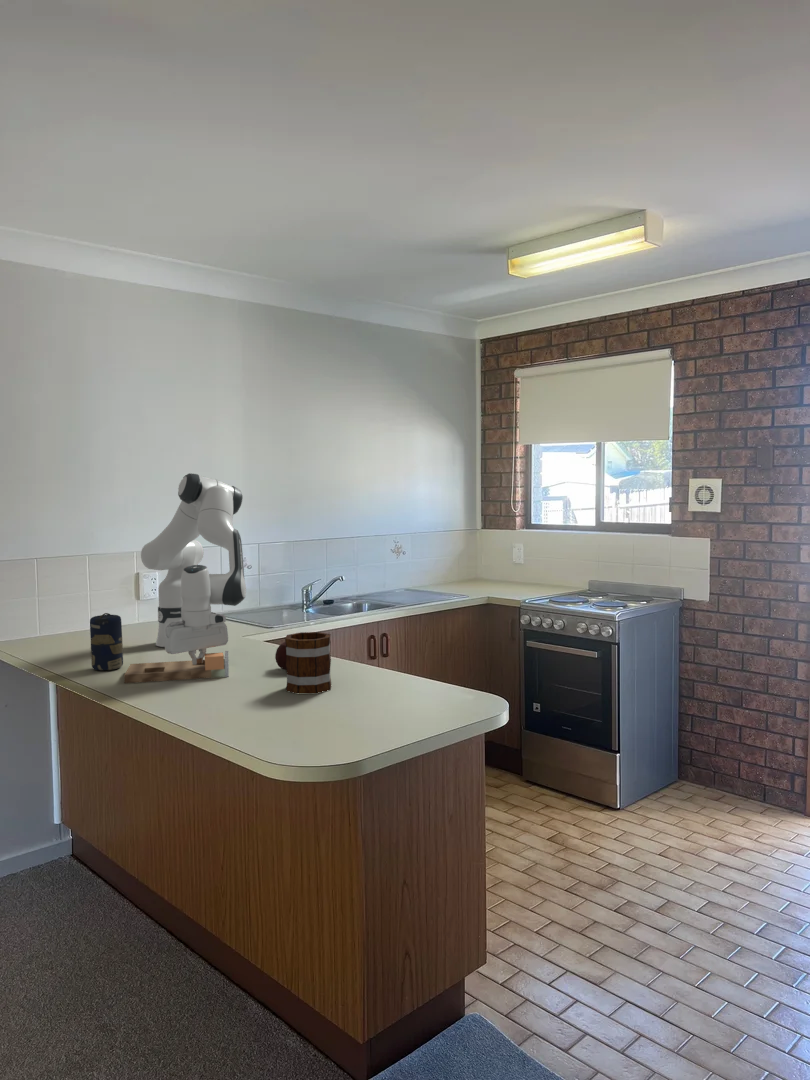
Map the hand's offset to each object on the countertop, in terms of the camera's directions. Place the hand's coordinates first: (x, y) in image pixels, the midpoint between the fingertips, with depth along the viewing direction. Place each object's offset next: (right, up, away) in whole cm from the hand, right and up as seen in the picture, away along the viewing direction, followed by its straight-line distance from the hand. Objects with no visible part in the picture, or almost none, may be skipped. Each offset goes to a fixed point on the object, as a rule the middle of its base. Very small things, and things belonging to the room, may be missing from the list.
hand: (197, 663), depth 241 cm
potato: (+27, -3, +7) cm, 28 cm away
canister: (-32, -4, +12) cm, 34 cm away
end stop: (+8, -3, +6) cm, 10 cm away
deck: (-7, -4, +3) cm, 8 cm away
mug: (+37, -4, -13) cm, 40 cm away
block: (+5, -1, 0) cm, 5 cm away
